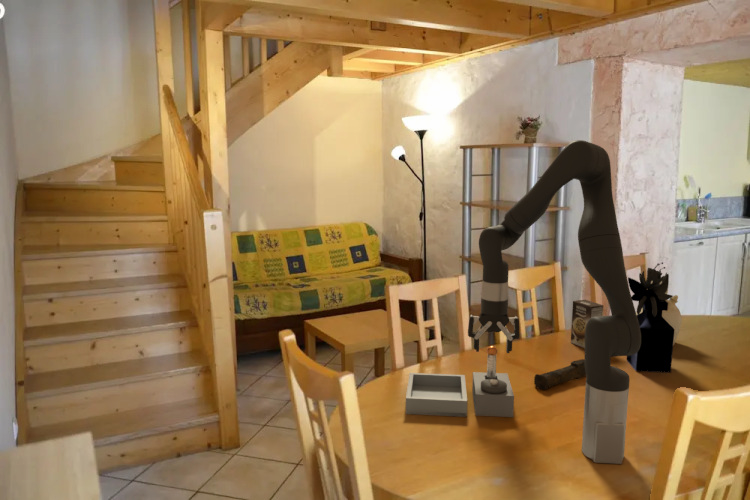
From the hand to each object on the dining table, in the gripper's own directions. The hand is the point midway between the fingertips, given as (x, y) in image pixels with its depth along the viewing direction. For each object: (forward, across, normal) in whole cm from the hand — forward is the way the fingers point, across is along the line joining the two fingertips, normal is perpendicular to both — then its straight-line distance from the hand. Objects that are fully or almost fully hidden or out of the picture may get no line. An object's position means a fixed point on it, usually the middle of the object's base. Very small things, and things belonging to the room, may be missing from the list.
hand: (492, 351), depth 163 cm
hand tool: (+14, +23, +15) cm, 31 cm away
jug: (+14, +65, +57) cm, 88 cm away
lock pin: (+12, 0, 0) cm, 12 cm away
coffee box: (+14, +38, +51) cm, 65 cm away
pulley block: (+14, 0, -4) cm, 15 cm away
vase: (+14, +53, +31) cm, 63 cm away
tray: (+14, -16, -5) cm, 21 cm away
